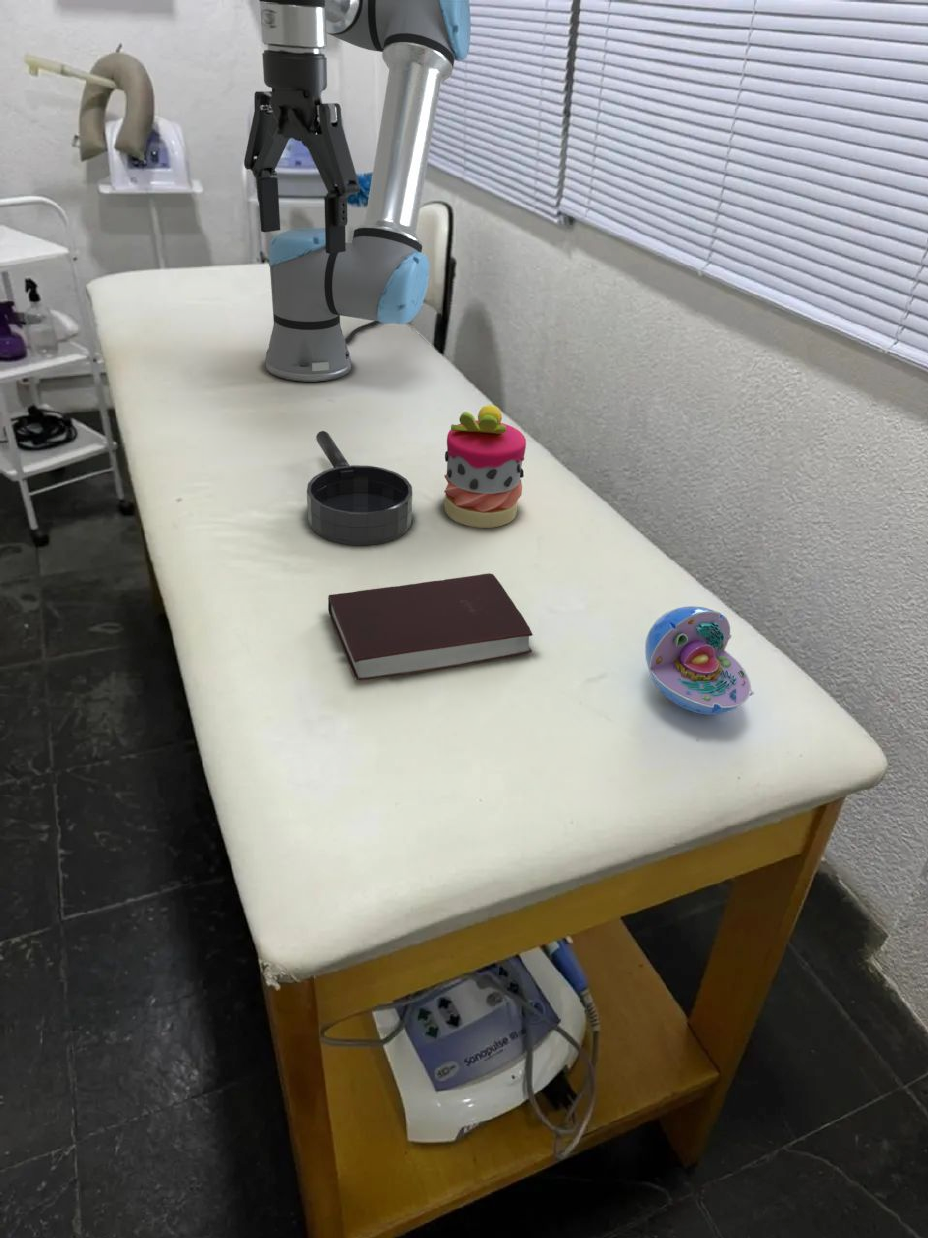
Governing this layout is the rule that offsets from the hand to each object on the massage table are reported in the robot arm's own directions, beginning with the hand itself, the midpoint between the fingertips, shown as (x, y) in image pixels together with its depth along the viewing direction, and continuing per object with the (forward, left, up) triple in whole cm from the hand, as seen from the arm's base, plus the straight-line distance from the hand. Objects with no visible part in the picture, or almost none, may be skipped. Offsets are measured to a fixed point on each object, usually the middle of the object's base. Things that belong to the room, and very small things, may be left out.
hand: (302, 241), depth 113 cm
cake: (-4, +32, -29) cm, 43 cm away
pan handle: (+5, +12, -26) cm, 29 cm away
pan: (+10, +23, -29) cm, 38 cm away
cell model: (+9, +72, -29) cm, 78 cm away
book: (+21, +47, -29) cm, 59 cm away
